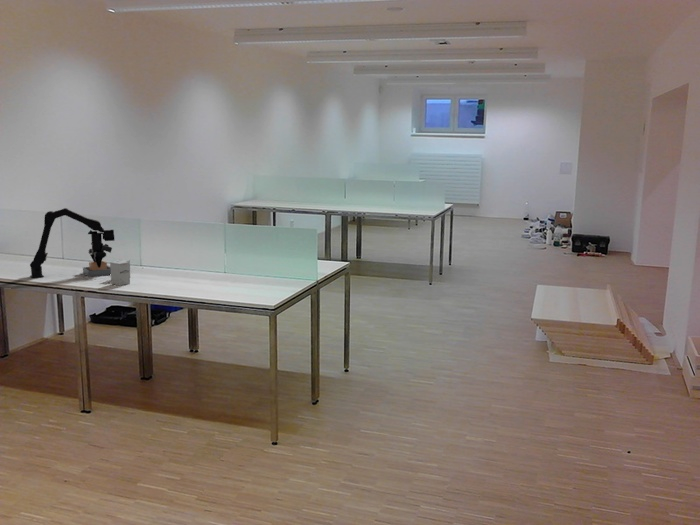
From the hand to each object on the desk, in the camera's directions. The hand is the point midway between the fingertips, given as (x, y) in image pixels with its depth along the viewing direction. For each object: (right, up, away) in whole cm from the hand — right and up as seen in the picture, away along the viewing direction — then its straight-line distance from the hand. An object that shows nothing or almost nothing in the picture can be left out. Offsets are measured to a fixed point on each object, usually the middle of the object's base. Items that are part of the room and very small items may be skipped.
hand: (98, 266), depth 383 cm
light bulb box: (+19, -8, -15) cm, 25 cm away
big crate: (0, -4, +1) cm, 5 cm away
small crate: (0, -2, 0) cm, 2 cm away
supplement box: (+25, -10, -29) cm, 39 cm away
